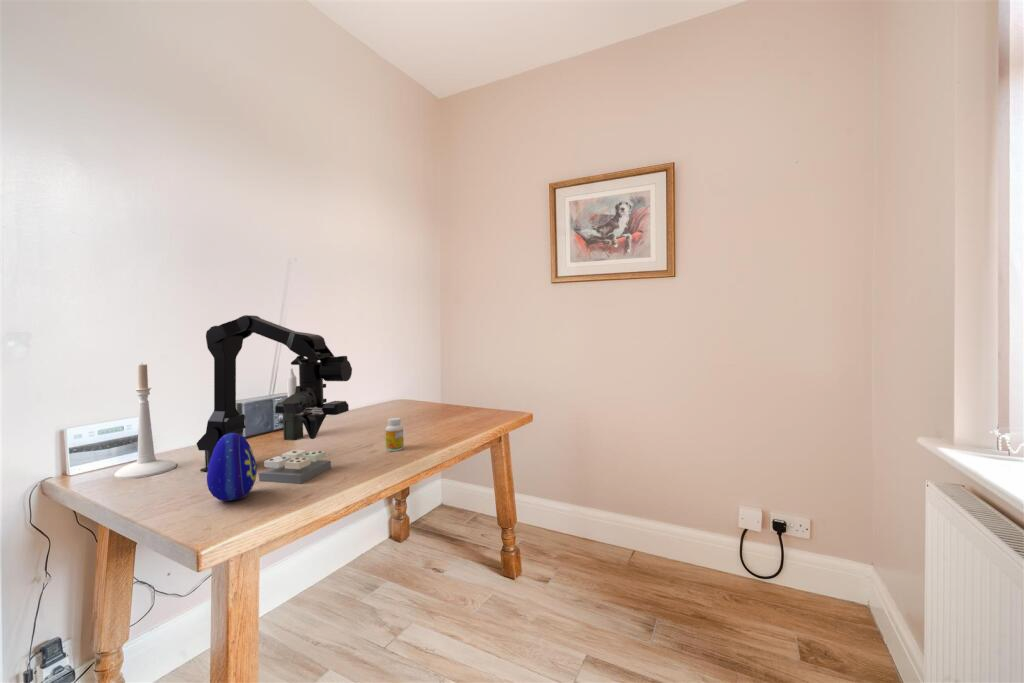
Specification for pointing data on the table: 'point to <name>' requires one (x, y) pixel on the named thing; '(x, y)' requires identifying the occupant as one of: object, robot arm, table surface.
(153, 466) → the candlestick
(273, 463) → the key two dot
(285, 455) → the key one dot
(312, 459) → the key three dot
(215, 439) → the robot arm
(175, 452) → the table surface
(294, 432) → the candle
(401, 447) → the supplement bottle
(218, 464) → the ornament
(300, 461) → the key four dot
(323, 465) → the keypad board
